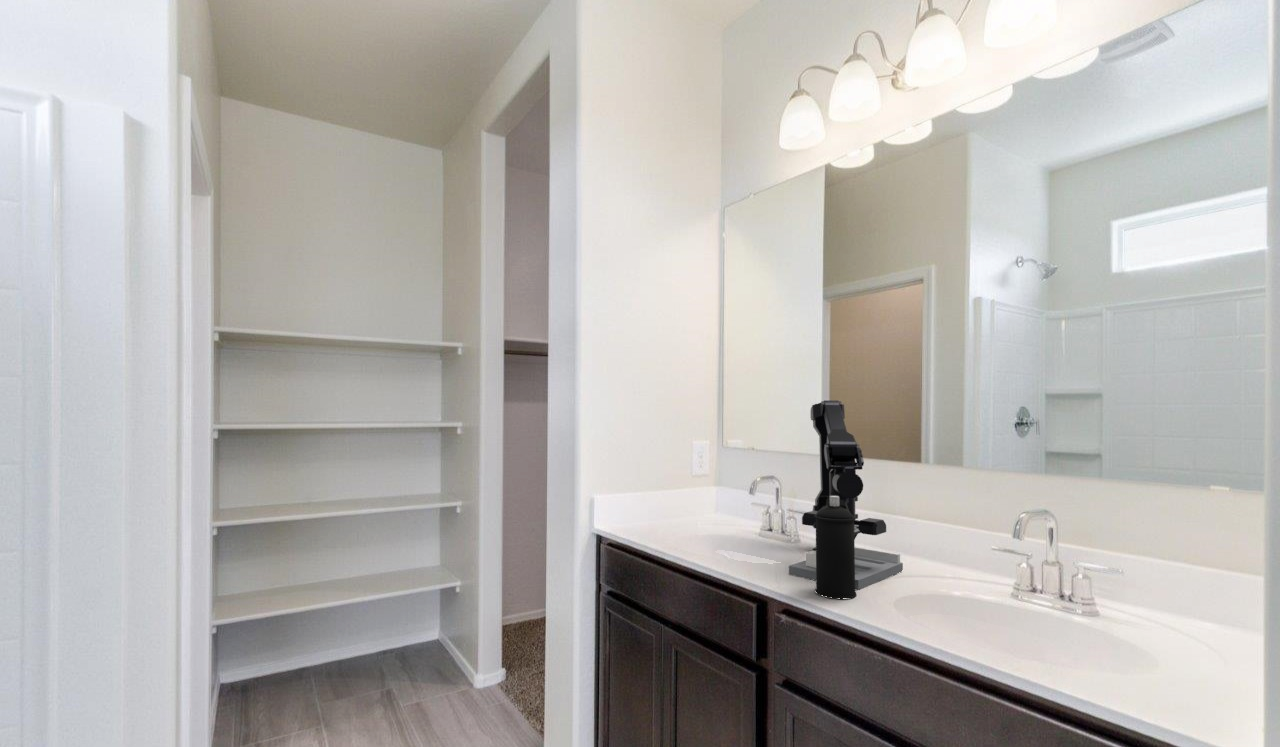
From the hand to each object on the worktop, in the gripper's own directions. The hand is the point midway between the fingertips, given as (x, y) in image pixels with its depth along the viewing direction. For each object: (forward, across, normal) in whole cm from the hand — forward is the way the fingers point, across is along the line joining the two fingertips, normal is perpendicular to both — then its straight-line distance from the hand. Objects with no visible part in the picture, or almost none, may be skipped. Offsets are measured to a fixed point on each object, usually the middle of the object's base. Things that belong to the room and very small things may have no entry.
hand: (843, 559), depth 148 cm
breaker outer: (+1, -3, -7) cm, 8 cm away
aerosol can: (+3, +7, -17) cm, 19 cm away
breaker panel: (+3, +1, 0) cm, 3 cm away
